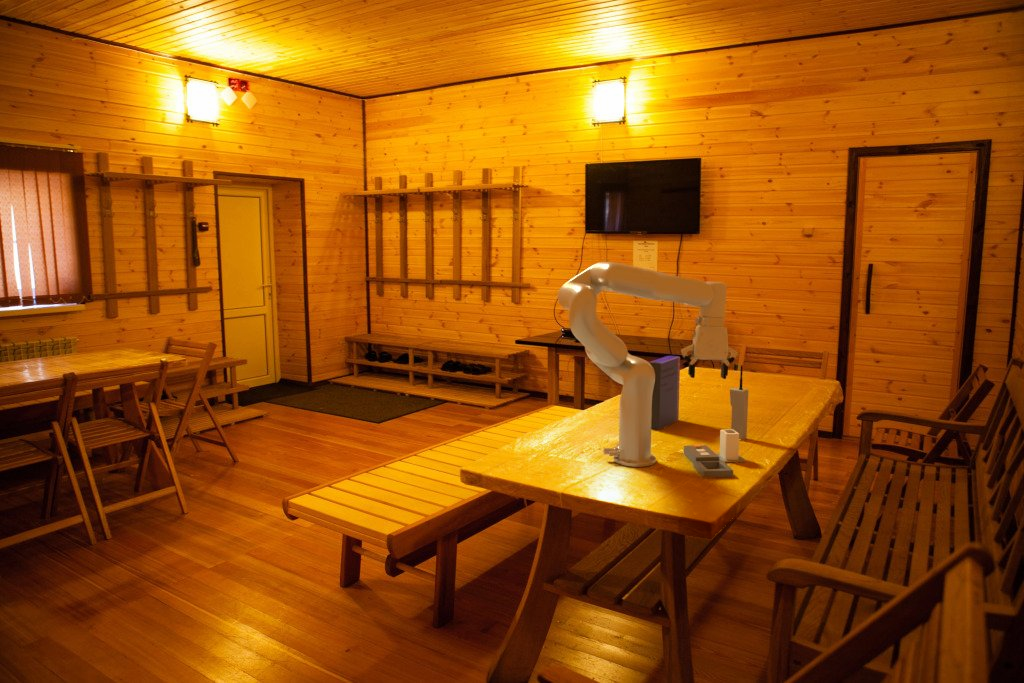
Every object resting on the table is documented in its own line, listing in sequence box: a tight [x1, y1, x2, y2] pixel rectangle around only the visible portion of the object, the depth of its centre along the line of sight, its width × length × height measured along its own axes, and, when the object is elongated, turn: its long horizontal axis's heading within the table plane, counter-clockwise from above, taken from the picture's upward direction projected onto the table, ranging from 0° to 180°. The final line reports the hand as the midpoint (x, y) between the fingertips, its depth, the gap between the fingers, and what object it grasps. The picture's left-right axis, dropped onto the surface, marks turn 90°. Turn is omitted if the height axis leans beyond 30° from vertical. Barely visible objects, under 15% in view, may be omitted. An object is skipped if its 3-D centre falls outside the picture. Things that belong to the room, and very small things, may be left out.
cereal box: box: [648, 355, 681, 431], centre depth 255 cm, size 17×5×24 cm, turn 145°
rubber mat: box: [715, 452, 747, 464], centre depth 216 cm, size 8×8×1 cm
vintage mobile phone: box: [729, 364, 749, 441], centre depth 236 cm, size 4×5×25 cm
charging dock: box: [683, 444, 734, 478], centre depth 209 cm, size 8×21×4 cm, turn 3°
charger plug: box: [719, 428, 740, 460], centre depth 215 cm, size 4×5×8 cm
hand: (707, 377), depth 217 cm, fingers open, 9 cm apart
